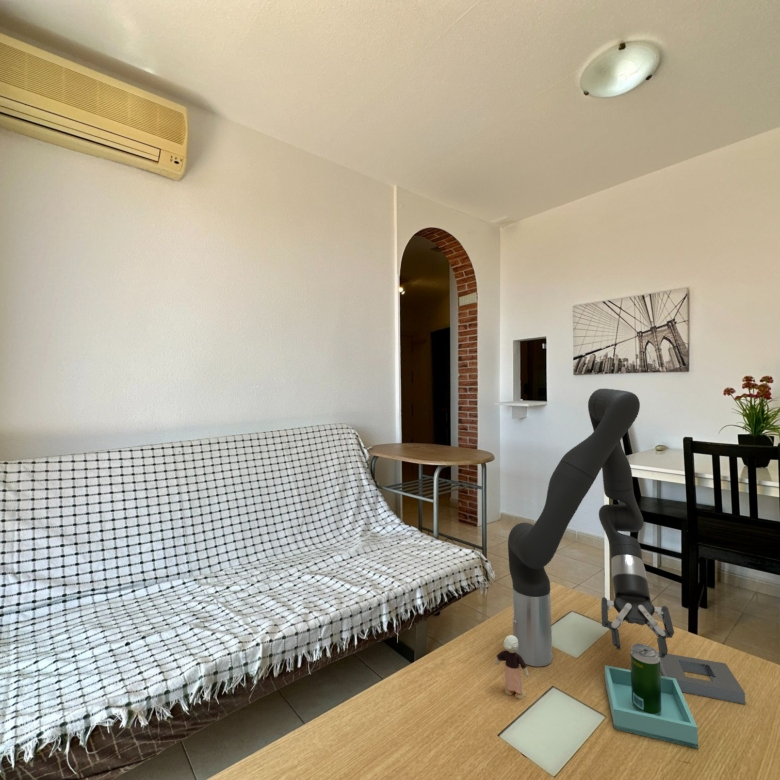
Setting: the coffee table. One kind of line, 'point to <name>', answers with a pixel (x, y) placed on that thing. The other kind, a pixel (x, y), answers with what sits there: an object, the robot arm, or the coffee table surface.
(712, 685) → the gray rectangular block
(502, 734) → the coffee table surface
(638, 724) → the tray
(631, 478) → the robot arm
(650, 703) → the beer can
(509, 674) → the grandmother figurine
